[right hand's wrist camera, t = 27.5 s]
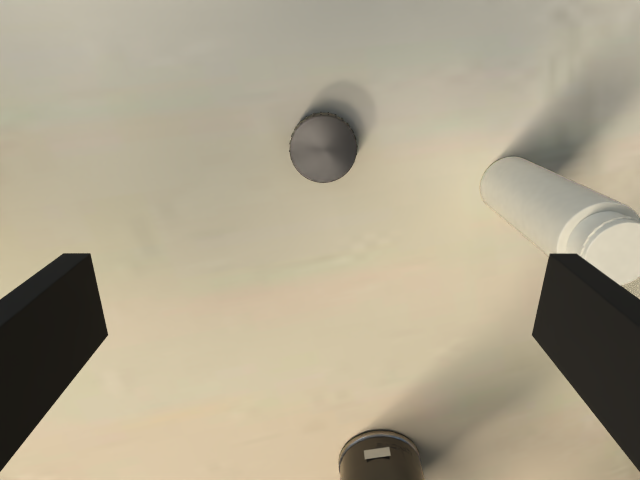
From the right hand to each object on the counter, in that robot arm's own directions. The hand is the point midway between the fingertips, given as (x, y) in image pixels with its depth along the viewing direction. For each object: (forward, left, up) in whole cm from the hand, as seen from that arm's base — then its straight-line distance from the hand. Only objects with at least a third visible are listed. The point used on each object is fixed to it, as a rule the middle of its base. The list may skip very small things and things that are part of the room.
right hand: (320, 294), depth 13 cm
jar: (+8, -15, -26) cm, 31 cm away
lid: (0, 0, -24) cm, 24 cm away
